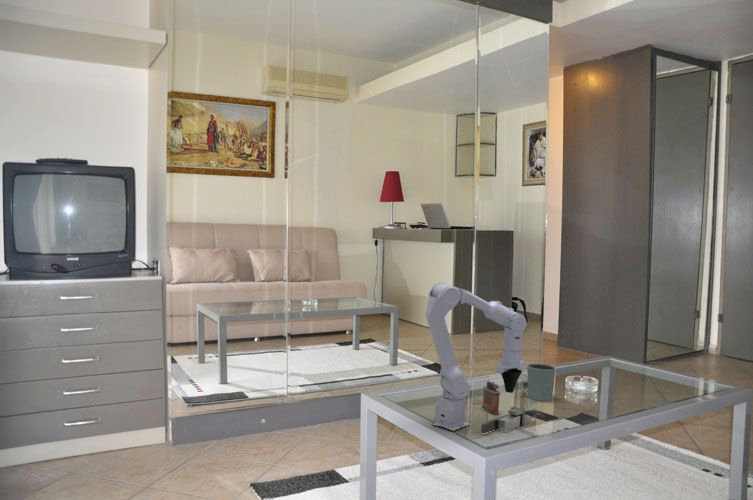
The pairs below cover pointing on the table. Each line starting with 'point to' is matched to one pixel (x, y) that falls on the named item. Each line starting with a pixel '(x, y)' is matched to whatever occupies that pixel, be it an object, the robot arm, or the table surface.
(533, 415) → the solid state drive
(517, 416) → the bar
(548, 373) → the green plant pot
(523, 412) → the bracket
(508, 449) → the table surface
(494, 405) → the lighter
